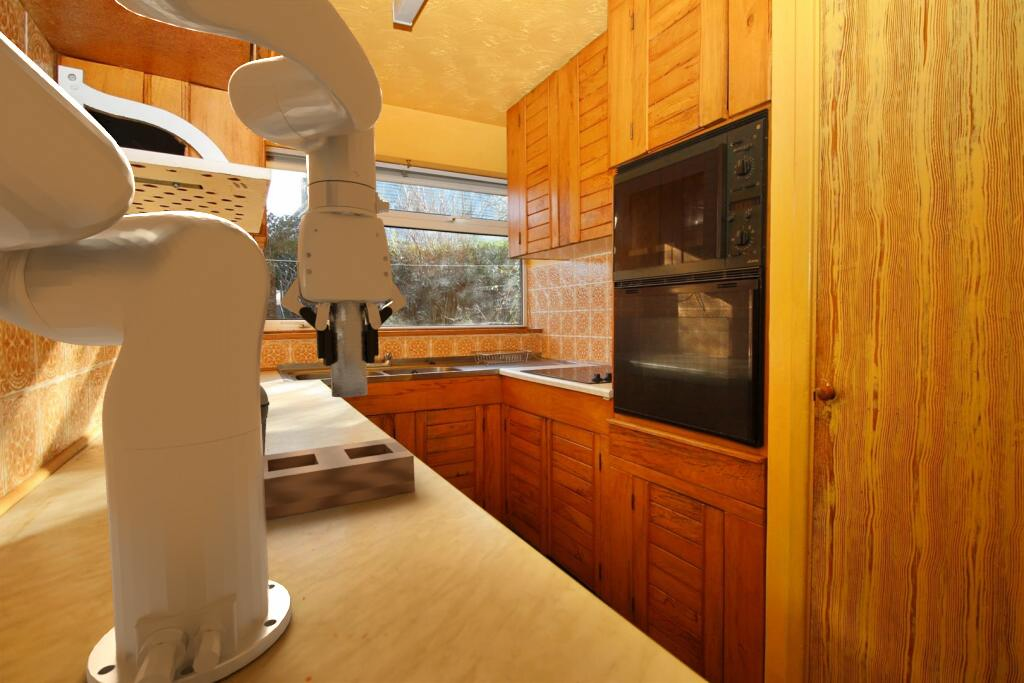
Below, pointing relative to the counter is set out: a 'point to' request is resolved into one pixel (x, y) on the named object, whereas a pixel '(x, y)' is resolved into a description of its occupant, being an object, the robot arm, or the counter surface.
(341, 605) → the counter surface
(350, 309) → the steel pin
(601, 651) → the counter surface
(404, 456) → the walnut block
